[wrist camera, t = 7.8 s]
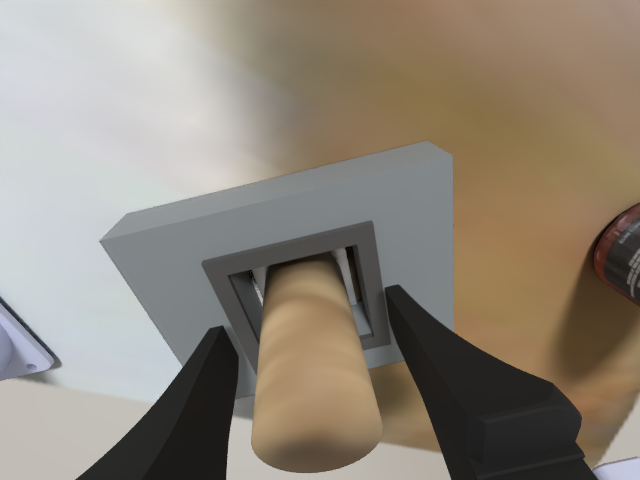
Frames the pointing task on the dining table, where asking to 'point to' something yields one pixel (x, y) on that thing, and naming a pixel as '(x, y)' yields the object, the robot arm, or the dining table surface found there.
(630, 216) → the supplement bottle
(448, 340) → the robot arm
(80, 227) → the dining table surface
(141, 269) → the board
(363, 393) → the peg
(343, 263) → the pad
